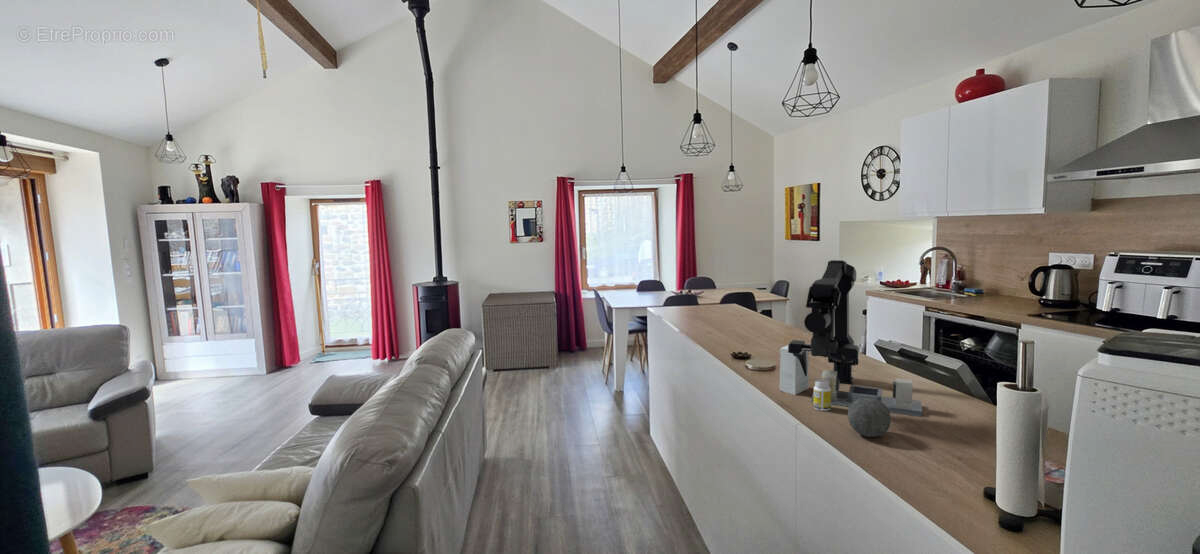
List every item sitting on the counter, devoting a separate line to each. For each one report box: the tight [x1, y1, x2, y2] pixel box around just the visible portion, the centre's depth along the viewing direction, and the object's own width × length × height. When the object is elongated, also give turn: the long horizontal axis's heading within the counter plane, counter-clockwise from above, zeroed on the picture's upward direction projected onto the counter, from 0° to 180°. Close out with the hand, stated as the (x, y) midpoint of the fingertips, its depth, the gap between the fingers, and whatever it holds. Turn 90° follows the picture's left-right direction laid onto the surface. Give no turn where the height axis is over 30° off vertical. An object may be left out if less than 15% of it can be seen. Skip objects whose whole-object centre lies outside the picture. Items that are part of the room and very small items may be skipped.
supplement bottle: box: [813, 378, 832, 412], centre depth 156 cm, size 5×5×8 cm
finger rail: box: [811, 369, 923, 417], centre depth 158 cm, size 9×29×8 cm, turn 60°
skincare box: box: [779, 344, 810, 396], centre depth 171 cm, size 8×6×15 cm
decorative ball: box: [847, 397, 892, 438], centre depth 136 cm, size 10×10×10 cm
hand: (822, 377), depth 155 cm, fingers open, 9 cm apart
